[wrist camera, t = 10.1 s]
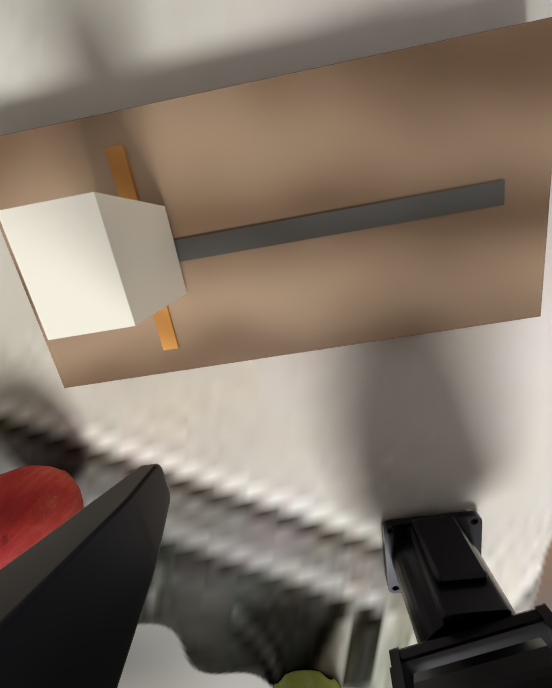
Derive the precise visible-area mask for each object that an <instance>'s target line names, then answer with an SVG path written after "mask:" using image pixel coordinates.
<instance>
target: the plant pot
mask: <svg viewBox="0 0 552 688" xmlns="http://www.w3.org/2000/svg"><path fill="white" fill-rule="evenodd" d="M273 688H341V687H340V685H339V684H338V682H337V681H336V680H334V679H332V680H330V679H328V678H326V677H325V676H324V675H323V674H322V673H321V672H319V671H314V670H299V671H293V672H290V673H288V674H285V675H284V677H283V678H282V680H281V681H280V682H279V683H278V684H274V686H273Z"/></svg>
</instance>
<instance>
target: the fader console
mask: <svg viewBox="0 0 552 688" xmlns="http://www.w3.org/2000/svg"><path fill="white" fill-rule="evenodd" d="M551 173H552V17H550V18H546V19H541V20H536V21H532V22H527V23H522V24H518V25H513V26H508V27H504V28H499V29H495V30H490V31H485V32H481V33H476V34H471V35H467V36H462V37H457V38H453V39H448V40H443V41H439V42H434V43H430V44H425V45H420V46H416V47H411V48H406V49H402V50H397V51H392V52H388V53H383V54H379V55H374V56H369V57H365V58H360V59H355V60H351V61H346V62H341V63H337V64H332V65H328V66H323V67H318V68H314V69H309V70H304V71H300V72H295V73H290V74H286V75H281V76H276V77H272V78H267V79H263V80H258V81H253V82H249V83H244V84H239V85H235V86H230V87H225V88H221V89H216V90H212V91H207V92H202V93H198V94H193V95H188V96H184V97H179V98H174V99H170V100H165V101H161V102H156V103H151V104H147V105H142V106H137V107H133V108H128V109H123V110H119V111H114V112H110V113H105V114H100V115H96V116H91V117H86V118H82V119H77V120H72V121H68V122H63V123H58V124H54V125H49V126H45V127H40V128H35V129H31V130H26V131H21V132H17V133H12V134H7V135H3V136H0V210H4V209H9V208H14V207H19V206H24V205H29V204H34V203H39V202H44V201H50V200H55V199H60V198H65V197H70V196H75V195H80V194H85V193H90V192H97V193H102V194H107V195H112V196H117V197H122V198H127V199H132V200H136V201H141V202H146V203H151V204H156V205H161V206H165V209H166V213H167V217H168V221H169V224H170V228H171V232H172V236H173V240H174V244H175V248H176V252H177V256H178V260H179V264H180V268H181V272H182V276H183V280H184V284H185V287H186V291H187V293H186V294H185V295H183V296H182V297H180V298H179V299H177V300H175V301H174V302H172V303H171V304H169V305H168V306H166V307H164V308H163V309H161V310H160V311H158V312H157V313H155V314H153V315H152V316H150V317H149V318H147V319H146V320H144V321H142V322H141V323H139V324H138V325H136V326H132V327H126V328H120V329H114V330H108V331H102V332H96V333H89V334H83V335H77V336H71V337H65V338H59V339H53V340H48V339H47V336H46V334H45V331H44V329H43V326H42V324H41V321H40V319H39V316H38V314H37V311H36V309H35V306H34V304H33V301H32V299H31V296H30V294H29V291H28V289H27V286H26V284H25V281H24V279H23V276H22V274H21V271H20V269H19V266H18V264H17V262H16V259H15V257H14V254H13V252H12V249H11V247H10V244H9V242H8V239H7V237H6V234H5V232H4V229H3V227H2V224H1V222H0V229H1V232H2V234H3V237H4V239H5V242H6V244H7V247H8V249H9V252H10V254H11V256H12V259H13V261H14V264H15V266H16V269H17V271H18V274H19V276H20V279H21V281H22V284H23V286H24V289H25V291H26V294H27V296H28V299H29V301H30V304H31V306H32V308H33V311H34V313H35V316H36V318H37V321H38V323H39V326H40V328H41V331H42V333H43V336H44V338H45V341H46V343H47V346H48V348H49V351H50V353H51V356H52V358H53V361H54V363H55V365H56V368H57V370H58V373H59V375H60V378H61V380H62V383H63V385H64V388H68V387H74V386H81V385H88V384H94V383H101V382H107V381H114V380H121V379H127V378H134V377H141V376H147V375H154V374H161V373H167V372H174V371H180V370H187V369H194V368H200V367H207V366H214V365H220V364H227V363H234V362H240V361H247V360H253V359H260V358H267V357H273V356H280V355H287V354H293V353H300V352H306V351H313V350H320V349H326V348H333V347H340V346H346V345H353V344H360V343H366V342H373V341H379V340H386V339H393V338H399V337H406V336H413V335H419V334H426V333H433V332H439V331H446V330H452V329H459V328H466V327H472V326H479V325H486V324H492V323H499V322H506V321H512V320H519V319H525V318H532V317H539V316H541V303H542V290H543V277H544V264H545V251H546V238H547V225H548V212H549V199H550V186H551Z"/></svg>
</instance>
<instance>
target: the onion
mask: <svg viewBox="0 0 552 688" xmlns="http://www.w3.org/2000/svg"><path fill="white" fill-rule="evenodd" d="M82 509H83V499H82V495H81V492H80V489H79V487H78V485H77V483H76V482H75V481H74V479H73V478H72V477H71V475H70V474H69V473H68V472H67V471H65V470H60V469H57V468H54V467H51V466H37V465H27V466H24V467H21V468H18V469H15V470H12V471H9V472H6V473H3V474H1V475H0V569H2V568H3V567H4V566H6V565H7V564H8V563H10V562H11V561H13V560H14V559H15V558H17V557H18V556H19V555H21V554H22V553H23V552H25V551H26V550H27V549H29V548H30V547H32V546H33V545H34V544H36V543H37V542H38V541H40V540H41V539H42V538H44V537H45V536H47V535H48V534H49V533H51V532H52V531H53V530H55V529H56V528H57V527H59V526H60V525H62V524H63V523H64V522H66V521H67V520H68V519H70V518H71V517H72V516H74V515H75V514H76V513H78V512H79V511H81V510H82Z"/></svg>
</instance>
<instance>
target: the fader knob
mask: <svg viewBox="0 0 552 688" xmlns="http://www.w3.org/2000/svg"><path fill="white" fill-rule="evenodd" d="M0 222H1V224H2V227H3V229H4V232H5V234H6V237H7V239H8V242H9V244H10V247H11V249H12V252H13V254H14V257H15V259H16V262H17V264H18V266H19V269H20V271H21V274H22V276H23V279H24V281H25V284H26V286H27V289H28V291H29V294H30V296H31V299H32V301H33V304H34V306H35V309H36V311H37V314H38V316H39V319H40V321H41V324H42V326H43V329H44V331H45V334H46V336H47V339H48V340H53V339H59V338H65V337H71V336H77V335H83V334H89V333H96V332H102V331H108V330H114V329H120V328H126V327H132V326H136V325H138V324H139V323H141V322H142V321H144V320H146V319H147V318H149V317H150V316H152V315H153V314H155V313H157V312H158V311H160V310H161V309H163V308H164V307H166V306H168V305H169V304H171V303H172V302H174V301H175V300H177V299H179V298H180V297H182V296H183V295H185V294H186V293H187V291H186V287H185V284H184V280H183V276H182V272H181V268H180V264H179V260H178V256H177V252H176V248H175V244H174V240H173V236H172V232H171V228H170V224H169V221H168V217H167V213H166V209H165V206H161V205H156V204H151V203H146V202H141V201H136V200H132V199H127V198H122V197H117V196H112V195H107V194H102V193H97V192H90V193H85V194H80V195H75V196H70V197H65V198H60V199H55V200H50V201H44V202H39V203H34V204H29V205H24V206H19V207H14V208H9V209H4V210H0Z"/></svg>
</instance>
